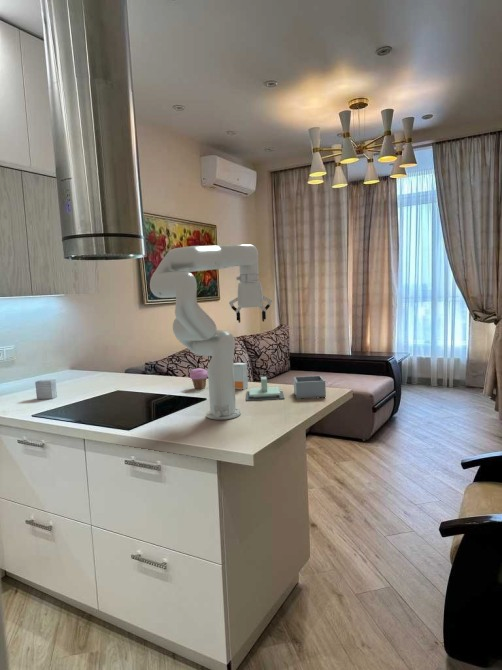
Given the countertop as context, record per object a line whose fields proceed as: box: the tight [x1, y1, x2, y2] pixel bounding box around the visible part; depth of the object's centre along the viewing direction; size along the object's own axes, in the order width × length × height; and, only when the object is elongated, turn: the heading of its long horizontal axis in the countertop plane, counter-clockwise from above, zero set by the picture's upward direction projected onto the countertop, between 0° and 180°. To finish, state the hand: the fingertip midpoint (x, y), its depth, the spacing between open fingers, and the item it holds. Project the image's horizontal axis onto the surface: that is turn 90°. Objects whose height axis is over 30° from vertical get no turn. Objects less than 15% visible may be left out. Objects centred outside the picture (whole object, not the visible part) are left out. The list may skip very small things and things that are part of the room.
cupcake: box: [189, 367, 208, 390], centre depth 213 cm, size 9×9×10 cm
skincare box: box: [233, 362, 249, 390], centre depth 207 cm, size 6×4×12 cm
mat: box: [245, 390, 285, 402], centre depth 191 cm, size 16×16×1 cm
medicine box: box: [34, 378, 58, 400], centre depth 209 cm, size 8×4×9 cm, turn 84°
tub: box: [293, 375, 327, 400], centre depth 187 cm, size 12×12×7 cm
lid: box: [248, 376, 281, 398], centre depth 190 cm, size 13×13×7 cm
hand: (251, 321), depth 178 cm, fingers open, 9 cm apart
